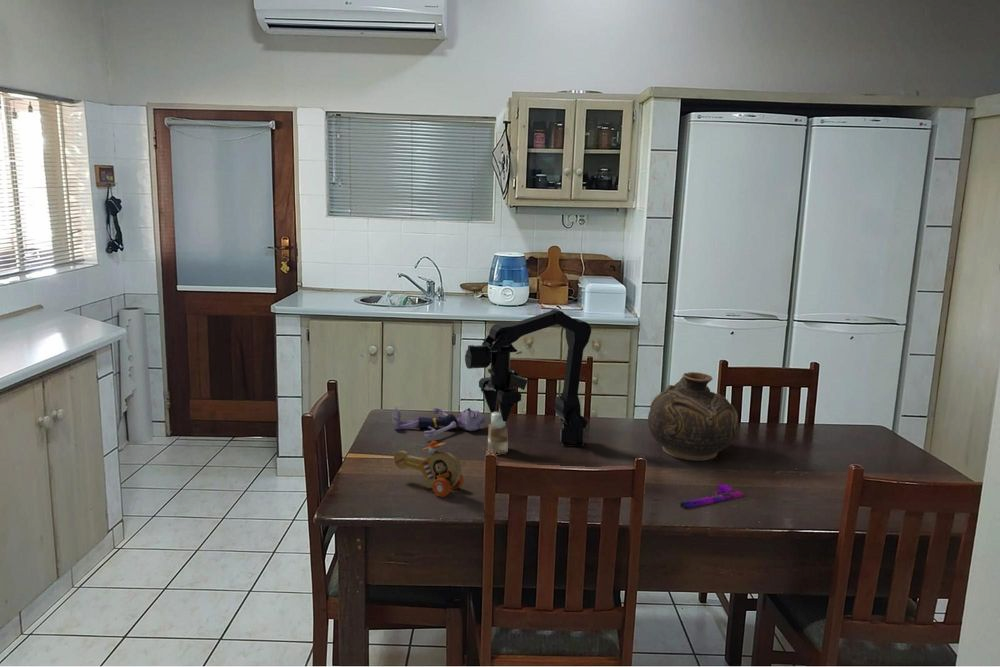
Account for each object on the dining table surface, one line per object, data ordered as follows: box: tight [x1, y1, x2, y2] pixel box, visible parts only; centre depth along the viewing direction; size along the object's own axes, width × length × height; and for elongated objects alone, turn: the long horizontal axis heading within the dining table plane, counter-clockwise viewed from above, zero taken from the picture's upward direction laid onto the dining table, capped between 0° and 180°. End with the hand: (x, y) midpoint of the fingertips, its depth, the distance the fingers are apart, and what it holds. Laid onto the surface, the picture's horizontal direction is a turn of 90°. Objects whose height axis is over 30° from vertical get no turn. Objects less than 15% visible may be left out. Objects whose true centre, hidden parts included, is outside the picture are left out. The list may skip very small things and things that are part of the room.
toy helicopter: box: [393, 440, 464, 498], centre depth 200 cm, size 8×21×14 cm, turn 61°
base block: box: [487, 435, 509, 453], centre depth 229 cm, size 6×6×4 cm
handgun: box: [679, 483, 744, 510], centre depth 199 cm, size 21×8×2 cm, turn 117°
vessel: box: [647, 371, 740, 462], centre depth 231 cm, size 27×28×25 cm
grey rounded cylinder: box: [490, 411, 506, 429], centre depth 228 cm, size 4×4×4 cm
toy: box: [391, 406, 487, 439], centre depth 248 cm, size 26×9×30 cm
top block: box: [487, 423, 509, 442], centre depth 228 cm, size 5×5×4 cm
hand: (498, 416), depth 227 cm, fingers open, 9 cm apart
